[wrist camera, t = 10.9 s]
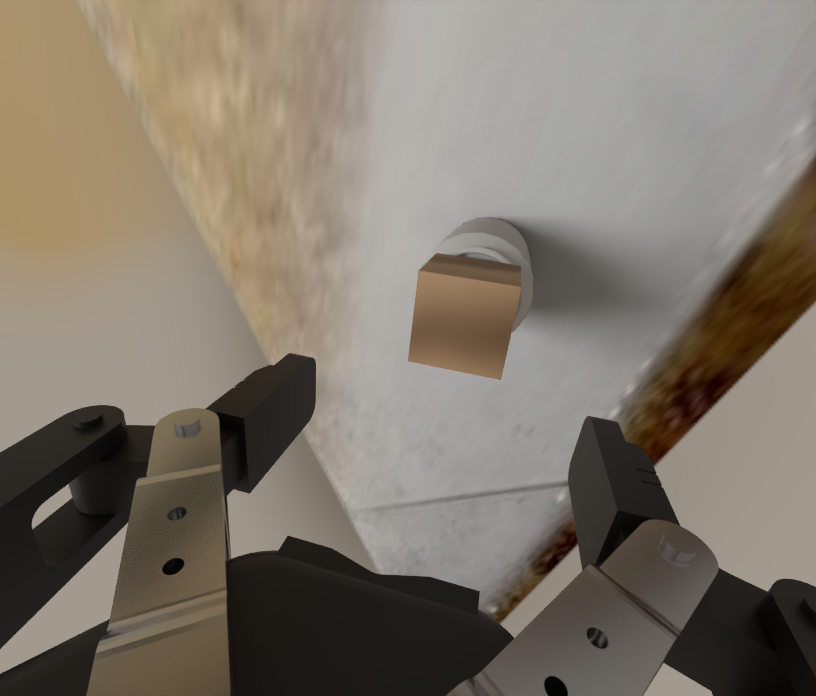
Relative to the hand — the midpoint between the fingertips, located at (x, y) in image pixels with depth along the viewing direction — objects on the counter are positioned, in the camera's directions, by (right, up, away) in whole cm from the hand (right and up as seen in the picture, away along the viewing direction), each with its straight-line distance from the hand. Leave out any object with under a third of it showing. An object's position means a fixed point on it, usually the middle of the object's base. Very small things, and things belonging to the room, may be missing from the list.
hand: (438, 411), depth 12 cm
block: (+3, +5, +13) cm, 15 cm away
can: (+6, +9, +24) cm, 27 cm away
